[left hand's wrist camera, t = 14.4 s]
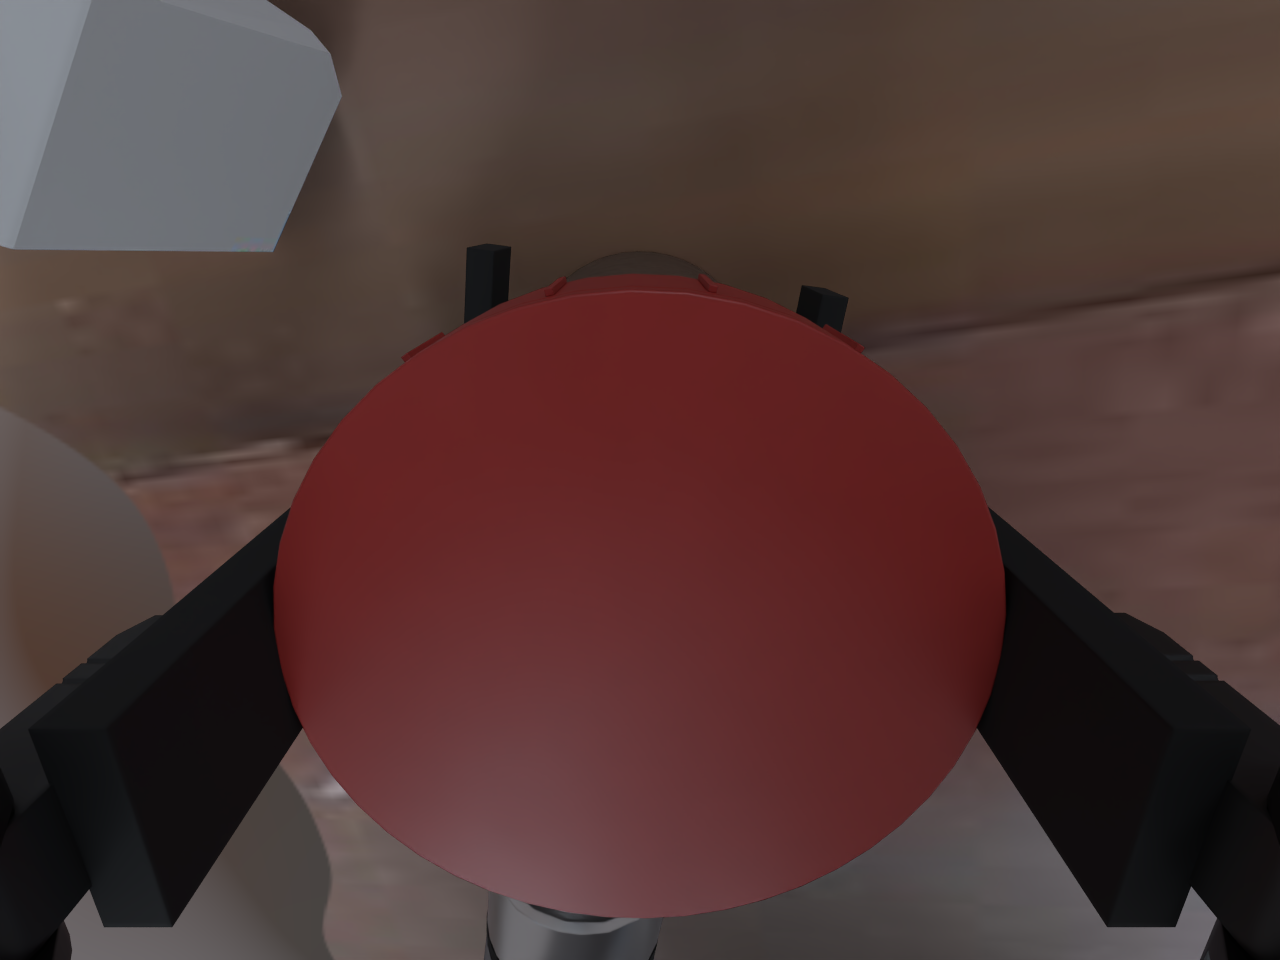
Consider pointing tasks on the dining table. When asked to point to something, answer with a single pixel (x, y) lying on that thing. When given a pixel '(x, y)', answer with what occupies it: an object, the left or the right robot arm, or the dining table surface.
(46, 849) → the left robot arm
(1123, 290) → the dining table surface
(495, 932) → the right robot arm
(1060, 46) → the dining table surface
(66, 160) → the electronic device
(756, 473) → the lid
